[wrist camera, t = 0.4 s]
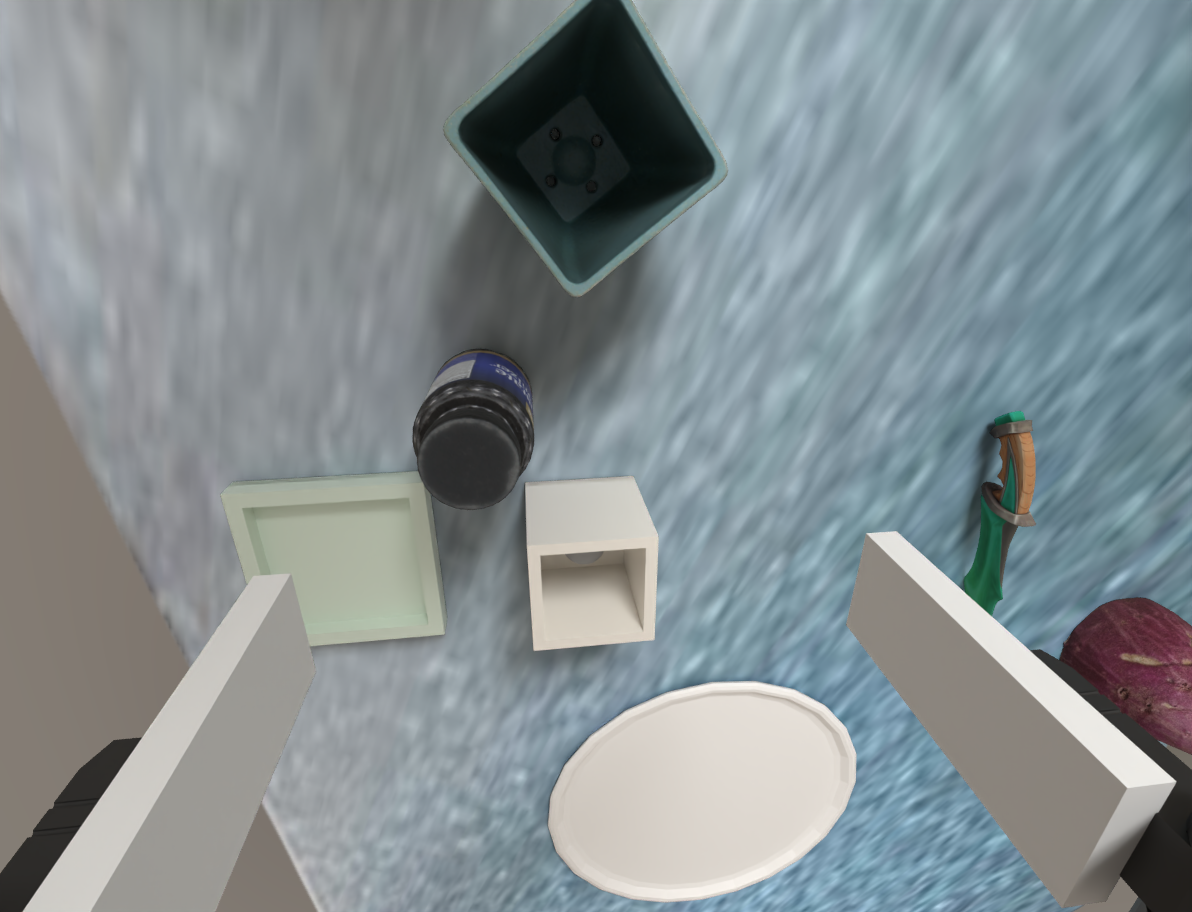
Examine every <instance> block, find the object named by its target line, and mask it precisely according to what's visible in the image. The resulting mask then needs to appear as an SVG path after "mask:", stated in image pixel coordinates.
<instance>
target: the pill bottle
mask: <svg viewBox="0 0 1192 912" xmlns="http://www.w3.org/2000/svg"><path fill="white" fill-rule="evenodd" d="M532 402H533V400H532V390H531V386H530V383H529V380H528V378H527V376H526V374H525V373H524V371H523V370H522V368H521V367H520V366H519V365H518V364H517V363H516V362H515V361H514V360H512V359H511V358H509V357H508V356H506V355H503V354H498V353H496V352H494V351H492V350H488V349H473V350H467V351H464V352H462V353H460V354H458V355H456V356H454V357H452V358H451V359H449V360H448V361H447V362H446V363H445V364H444V365H443V366H442V368H441V369H440V370H439V372H438V374H437V376H436V378H435V380H434V382H433V384H432V386H431V388H430V390H429V392H428V394H427V396H426V398H425V400H424V402H423V404H422V406H421V408H420V410H419V412H418V414H417V416H416V419H415V422H414V426H413V447H414V451H415V454H416V456H417V465H418V472H419V475H420V478H421V481H422V482H423V484H424V486H425V487H426V489H427V490H428V491H429V492H430V493H431V494H432V495H433V496H434V497H435V498H436V499H438V500H439V501H441V502H442V503H444V504H446V505H449V506H452V507H454V508H459V509H465V510H475V509H483V508H486V507H489V506H492V505H494V504H496V503H498V502H500V501H501V500H502V499H504V498H505V497H506V496H507V495H508V494H509V493H510V492H511V491H512V489H513V488H514V486H515V484H516V482H517V480H518V477H519V476H521V474H522V473H523V471H524V470H525V469H526V467H527V465H528V463H529V461H530V459H531V455H532V452H533V447H534V425H533V404H532Z"/></svg>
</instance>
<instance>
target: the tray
mask: <svg viewBox="0 0 1192 912" xmlns="http://www.w3.org/2000/svg"><path fill="white" fill-rule="evenodd" d="M220 496H221V499H222V503H223V506H224V509H225V513H226V516H227V519H228V523H229V526H230V529H231V533H232V536H233V540H234V543H235V546H236V550H237V553H238V556H239V560H240V563H241V566H242V570H243V573H244V577H245V580H246V583H247V584H248V583H249V582H250V580H251V579H252V577H253V576H260V575H275V574H289V573H291V575H292V579H293V583H294V587H295V591H296V594H297V598H298V602H299V606H300V610H301V614H302V618H303V622H304V626H305V629H306V633H307V637H308V641H309V645H310V646H319V645H330V644H342V643H353V642H365V641H376V640H388V639H399V638H411V637H422V636H433V635H445V630H446V624H447V611H446V604H445V597H444V589H443V582H442V575H441V567H440V560H439V552H438V545H437V538H436V530H435V523H434V516H433V508H432V501H431V494H430V492H429V491H428V490H427V489H426V487H425V486H424V484H423V482H422V481H421V478H420V475H419V472H418V471H410V472H393V473H375V474H358V475H340V476H323V477H306V478H288V479H271V480H253V481H236V482H232V483H231V484H230V485H229V486H228V487H227V488H226V489H225V490H224V491H223V492H222V493H221V494H220Z"/></svg>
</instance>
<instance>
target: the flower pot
mask: <svg viewBox="0 0 1192 912" xmlns="http://www.w3.org/2000/svg"><path fill="white" fill-rule="evenodd" d="M553 129H557V130H558V131H559V132H560V137H559V139H557V140H553V139H552V138H551V136H550V133H551V131H552V130H553ZM443 131H444V135H445V137H446V139H447V140H448V142H449V143H450V145H451V146H452V147H453V149H454V150H455V151H456V152H457V153H458V155H459V156H460V157H461V158H462V159H463V160H464V162H465V163H466V164H467V166H468V167H469V168H470V169H471V170H472V172H473V173H474V174H475V176H476V177H477V178H478V179H479V180H480V182H481V183H482V184H483V185H484V186H485V188H486V189H487V190H488V191H489V193H490V194H491V195H492V197H493V198H494V199H495V201H496V202H497V203H498V204H499V206H500V207H501V208H502V209H503V210H504V212H505V213H506V214H507V216H508V217H509V218H510V220H511V221H512V222H513V223H514V225H515V226H516V227H517V228H518V230H519V231H520V232H521V234H522V235H523V236H524V237H525V239H526V240H527V241H528V242H529V244H530V245H531V246H532V248H533V249H534V250H535V252H536V253H537V254H538V255H539V257H540V258H541V259H542V261H543V262H544V263H545V265H546V266H547V267H548V269H549V270H550V271H551V272H552V274H553V275H554V277H555V278H556V280H557V281H558V282H559V284H560V285H561V286H562V287H563V289H564V290H565V291H566V292H567V293H568V294H569V295H570V296H572V297H581V296H583V295H584V294H586V293H587V292H588V291H590V290H591V289H592V288H593V287H594V286H596V285H597V284H598V283H599V282H600V281H602V280H603V279H604V278H605V277H606V276H607V275H609V274H610V273H611V272H612V271H614V270H615V269H616V268H617V267H618V266H619V265H621V264H622V263H623V262H624V261H626V260H627V259H628V258H629V257H630V256H632V255H633V254H634V253H635V252H637V251H638V250H639V249H640V248H641V247H642V246H643V245H645V244H646V243H647V242H649V241H650V240H651V239H653V238H654V237H655V236H656V235H657V234H659V233H660V232H661V231H662V230H663V229H665V228H666V227H667V226H668V225H669V224H671V223H672V222H673V221H674V220H676V219H677V218H678V217H679V216H681V215H682V214H683V213H684V212H686V211H687V210H688V209H689V208H691V207H692V206H693V205H694V204H696V203H697V202H698V201H699V200H701V199H702V198H703V197H705V196H706V195H707V194H708V193H709V192H711V191H712V190H713V189H715V188H716V187H717V186H718V185H719V184H720V183H721V182H723V180H724V179H725V178H726V176H727V173H728V167H727V163H726V160H725V159H724V157H723V154H722V153H721V151H720V149H719V148H718V146H717V145H716V143H715V141H714V140H713V138H712V137H711V135H710V133H709V132H708V130H707V128H706V127H705V125H704V124H703V122H702V120H701V119H700V117H699V115H698V114H697V112H696V110H695V108H694V107H693V106H692V104H691V102H690V100H689V99H688V97H687V95H686V94H685V92H684V90H683V88H682V87H681V85H680V84H679V82H678V80H677V78H676V77H675V75H674V74H673V72H672V70H671V68H670V66H669V65H668V63H667V61H666V59H665V57H664V56H663V54H662V53H661V51H660V49H659V47H658V45H657V43H656V42H655V40H654V38H653V37H652V35H651V33H650V31H649V30H648V28H647V26H646V24H645V23H644V21H643V19H642V17H641V16H640V14H639V12H638V11H637V9H636V7H635V5H634V3H633V2H632V0H575V1H574V2H573V3H572V4H571V5H570V6H569V7H568V8H567V9H565V10H564V11H563V12H562V13H561V14H560V15H559V16H558V17H557V18H556V19H555V20H554V21H553V22H552V23H551V24H550V25H549V26H548V27H547V28H546V29H545V30H544V31H543V32H542V33H540V34H539V35H538V36H537V37H536V38H535V39H534V40H533V41H532V42H531V43H530V44H529V45H528V46H526V47H525V48H524V49H523V50H522V51H521V52H520V53H519V54H518V55H517V56H516V57H514V58H513V59H512V60H511V61H510V62H509V63H508V64H507V65H506V66H505V67H504V68H503V69H501V70H500V71H499V72H498V73H497V74H496V75H495V76H494V77H493V78H492V79H491V80H490V81H488V82H487V83H486V84H485V85H484V86H483V87H482V88H481V89H480V90H478V91H477V92H476V93H475V94H474V95H473V96H471V97H470V98H469V99H468V100H467V101H466V102H465V103H464V104H463V105H461V106H460V107H458V108H457V109H456V110H455V111H454V112H453V113H452V114H451V115H450V116H449V117H448V119H447V120H446V122H445V124H444V126H443ZM596 135H598V136H600V137H601V139H602V143H601V145H600V146H594V145H593V143H592V139H593V137H594V136H596ZM548 176H553V177H554V178H555V184H554V185H552V186H550V185H548V184H547V182H546V179H547V177H548ZM590 181H593V182H595V184H596V188H595V190H594V191H589V190H588V188H587V184H588V183H589V182H590Z"/></svg>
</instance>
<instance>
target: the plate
mask: <svg viewBox="0 0 1192 912" xmlns="http://www.w3.org/2000/svg"><path fill="white" fill-rule="evenodd" d="M855 782H856V752H855V749H854V747H853V744H852V742H851V739H850V736H849V734H848V731H847V729H846V727H845V726H844V725H843V724H842V723H841V722H840V721H839V720H838V718H837V717H836V716H835V715H834V714H833V713H832V712H831V711H830V710H829V709H828V708H827V707H826V706H825V705H824V704H822V703H820V702H818V701H816V700H814V699H812V698H810V697H808V696H806V695H804V694H803V693H801V692H799V691H797V690H795V689H791V688H786V687H782V686H777V685H772V684H767V683H762V682H757V681H736V682H710V683H705V684H701V685H696V686H692V687H687V688H683V689H679V690H674V691H670V692H666V693H664V694H661V695H659V696H657V697H655V698H652V699H650V700H648V701H646V702H643V703H641V704H639V705H637V706H634V707H632V708H630V709H628V710H625V711H624V712H622V713H621V714H620V715H618V716H617V717H615V718H614V719H613V720H611V721H610V722H608V723H607V724H605V725H604V726H603V727H601V728H600V729H598V730H597V731H596V732H594V733H593V734H591V735H590V736H589V737H588V738H587V740H586V741H585V742H584V743H583V744H582V745H581V746H580V748H579V749H578V750H577V751H576V752H575V753H574V754H573V756H572V757H571V758H570V759H569V760H568V761H567V762H566V764H565V765H564V767H563V769H562V771H561V774H560V776H559V778H558V780H557V782H556V784H555V786H554V789H553V791H552V793H551V797H550V808H549V820H548V827H549V830H550V833H551V836H552V840H553V843H554V846H555V849H556V852H557V853H558V854H559V856H560V857H561V858H562V859H563V860H564V862H565V863H566V864H567V865H568V866H569V868H570V869H571V870H572V871H573V872H574V873H575V874H576V875H578V876H579V877H581V878H583V879H584V880H586V881H587V882H589V883H591V884H592V885H594V886H595V887H597V888H599V889H601V890H604V891H607V892H610V893H613V894H617V895H620V896H623V897H626V898H629V899H635V900H646V901H656V902H677V901H689V900H701V899H706V898H710V897H714V896H718V895H722V894H726V893H730V892H735V891H738V890H740V889H743V888H745V887H748V886H750V885H752V884H755V883H757V882H760V881H762V880H765V879H767V878H769V877H771V876H773V875H775V874H776V873H778V872H780V871H781V870H783V869H784V868H786V867H788V866H789V865H791V864H793V863H794V862H796V861H797V860H799V859H801V858H802V857H803V856H804V855H805V854H806V853H807V852H809V851H810V850H811V849H812V848H813V847H814V846H815V845H816V844H817V843H819V842H820V841H821V840H822V839H823V838H824V837H825V836H826V835H827V834H828V832H829V831H830V830H831V828H832V827H833V826H834V824H835V823H836V821H837V820H838V819H839V817H840V816H841V814H842V813H843V812H844V810H845V808H846V806H847V803H848V800H849V798H850V795H851V792H852V790H853V787H854V784H855Z"/></svg>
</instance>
